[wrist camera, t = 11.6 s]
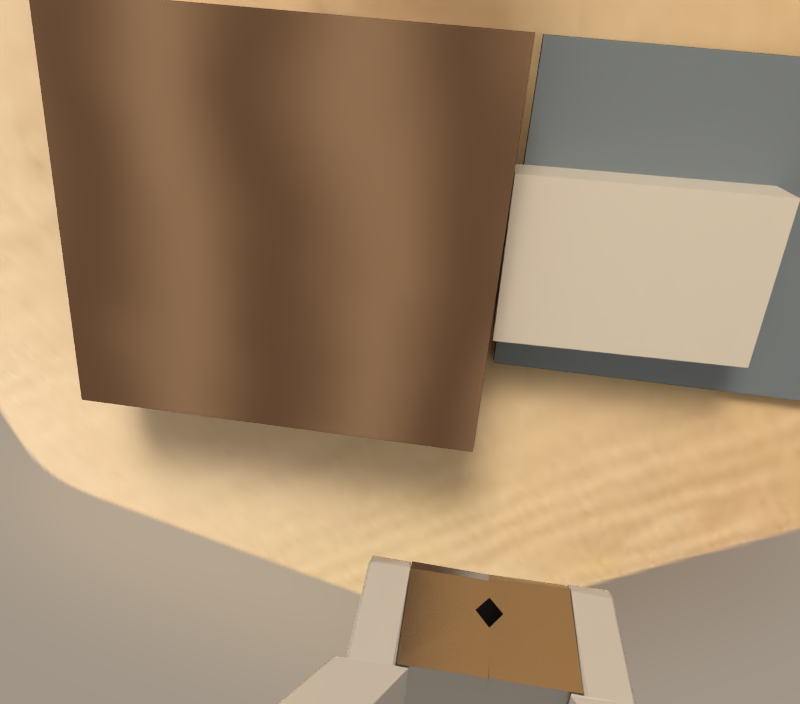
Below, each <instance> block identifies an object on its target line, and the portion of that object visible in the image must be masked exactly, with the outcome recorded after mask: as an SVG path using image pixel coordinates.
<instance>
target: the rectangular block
mask: <svg viewBox="0 0 800 704" xmlns="http://www.w3.org/2000/svg"><path fill="white" fill-rule="evenodd" d="M799 202H800V198H799V197H797V196H795V195H793V194H791V193H789V192H787V191H786V190H784V189H782V188H780V187H778V186H771V185H760V184H748V183H736V182H724V181H713V180H701V179H689V178H677V177H666V176H654V175H642V174H630V173H619V172H607V171H595V170H583V169H572V168H560V167H548V166H536V165H525V164H515V171H514V178H513V185H512V191H511V198H510V205H509V212H508V218H507V225H506V232H505V239H504V245H503V252H502V259H501V265H500V272H499V279H498V286H497V292H496V299H495V307H494V315H493V341H499V342H509V343H518V344H528V345H537V346H547V347H556V348H565V349H575V350H584V351H594V352H603V353H612V354H622V355H631V356H641V357H650V358H660V359H669V360H678V361H688V362H697V363H707V364H716V365H725V366H735V367H744V368H748V367H749V363H750V360H751V357H752V354H753V350H754V347H755V344H756V341H757V338H758V334H759V331H760V328H761V325H762V321H763V318H764V315H765V312H766V308H767V305H768V302H769V299H770V295H771V292H772V289H773V286H774V283H775V279H776V276H777V273H778V270H779V266H780V263H781V260H782V257H783V253H784V250H785V247H786V244H787V240H788V237H789V234H790V231H791V227H792V224H793V221H794V218H795V215H796V211H797V208H798V205H799Z"/></svg>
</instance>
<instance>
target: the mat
mask: <svg viewBox="0 0 800 704" xmlns="http://www.w3.org/2000/svg"><path fill="white" fill-rule="evenodd" d="M523 164H525V165H536V166H548V167H560V168H572V169H583V170H595V171H607V172H619V173H630V174H642V175H654V176H666V177H677V178H689V179H701V180H713V181H724V182H736V183H748V184H760V185H771V186H778V187H780V188H782V189H784V190H786V191H787V192H789V193H791V194H793V195H795V196H797V197H799V198H800V57H798V56H786V55H775V54H764V53H752V52H741V51H729V50H718V49H707V48H695V47H684V46H673V45H661V44H650V43H639V42H627V41H616V40H604V39H593V38H582V37H570V36H559V35H548V34H543V39H542V46H541V52H540V59H539V65H538V72H537V78H536V85H535V92H534V98H533V105H532V111H531V118H530V124H529V131H528V137H527V144H526V150H525V157H524V163H523ZM494 363H500V364H508V365H516V366H524V367H532V368H540V369H549V370H557V371H565V372H573V373H581V374H589V375H597V376H605V377H613V378H621V379H629V380H637V381H645V382H654V383H662V384H670V385H678V386H686V387H694V388H702V389H710V390H718V391H726V392H734V393H742V394H750V395H758V396H767V397H775V398H783V399H791V400H799V401H800V202H799V205H798V208H797V211H796V215H795V218H794V221H793V224H792V227H791V231H790V234H789V237H788V240H787V244H786V247H785V250H784V253H783V257H782V260H781V263H780V266H779V270H778V273H777V276H776V279H775V283H774V286H773V289H772V292H771V295H770V299H769V302H768V305H767V308H766V312H765V315H764V318H763V321H762V325H761V328H760V331H759V334H758V338H757V341H756V344H755V347H754V350H753V354H752V357H751V360H750V363H749V367H748V368H744V367H735V366H725V365H716V364H707V363H697V362H688V361H678V360H669V359H660V358H650V357H641V356H631V355H622V354H612V353H603V352H594V351H584V350H575V349H565V348H556V347H547V346H537V345H528V344H518V343H509V342H499V341H496V346H495V353H494Z"/></svg>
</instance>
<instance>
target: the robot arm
mask: <svg viewBox="0 0 800 704" xmlns="http://www.w3.org/2000/svg"><path fill="white" fill-rule="evenodd" d="M279 704H636V703H635V699H634V694H633V689H632V684H631V680H630V675H629V670H628V666H627V661H626V656H625V652H624V647H623V642H622V638H621V633H620V629H619V624H618V620H617V615H616V610H615V605H614V601H613V597H612V595H611V594H610V593H609V591H608V590H601V589H593V588H586V587H579V586H571V585H568V586H567V587H566V586H565V585H559V584H552V583H545V582H538V581H531V580H524V579H517V578H510V577H503V576H495V575H487V574H482V573H476V572H470V571H464V570H458V569H453V568H447V567H441V566H435V565H430V564H424V563H418V562H412V566H411V562H407V561H401V560H396V559H390V558H384V557H379V556H372V558H371V560H370V562H369V565H368V569H367V573H366V577H365V581H364V585H363V590H362V594H361V598H360V602H359V606H358V611H357V615H356V619H355V623H354V627H353V632H352V636H351V640H350V644H349V648H348V652H347V657H346V658H344V657H337V656H334V657H332V658H331V659H330V660H329V661H328V662H327V663H325V664H324V665H323V666H322V667H321V668H319V669H318V670H317V671H316V672H315V673H314V674H313V675H311V676H310V677H309V678H308V679H307V680H306V681H304V682H303V683H302V684H301V685H300V686H298V687H297V688H296V689H295V690H294V691H293V692H291V693H290V694H289V695H288V696H287V697H286V698H284V699H283V700H282V701H281V702H280V703H279Z"/></svg>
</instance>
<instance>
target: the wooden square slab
mask: <svg viewBox="0 0 800 704" xmlns="http://www.w3.org/2000/svg"><path fill="white" fill-rule="evenodd" d="M29 2H30V10H31V18H32V25H33V33H34V40H35V48H36V55H37V63H38V71H39V78H40V86H41V93H42V101H43V108H44V116H45V124H46V131H47V139H48V146H49V154H50V162H51V169H52V177H53V184H54V192H55V199H56V207H57V215H58V222H59V230H60V237H61V245H62V253H63V260H64V268H65V275H66V283H67V290H68V298H69V306H70V313H71V321H72V328H73V336H74V344H75V351H76V359H77V366H78V374H79V381H80V389H81V397H82V400H89V401H96V402H104V403H111V404H119V405H126V406H134V407H141V408H149V409H156V410H164V411H171V412H179V413H186V414H194V415H201V416H208V417H216V418H223V419H231V420H238V421H246V422H253V423H261V424H268V425H276V426H283V427H291V428H298V429H306V430H313V431H321V432H328V433H336V434H343V435H350V436H358V437H365V438H373V439H380V440H388V441H395V442H403V443H410V444H418V445H425V446H433V447H440V448H448V449H455V450H463V451H470V452H473V448H474V441H475V434H476V427H477V421H478V414H479V407H480V400H481V394H482V387H483V380H484V373H485V367H486V360H487V353H488V346H489V340H490V333H491V326H492V319H493V313H494V306H495V299H496V292H497V286H498V279H499V272H500V265H501V259H502V252H503V245H504V239H505V232H506V225H507V218H508V212H509V205H510V198H511V191H512V185H513V178H514V171H515V164H516V158H517V151H518V144H519V137H520V131H521V124H522V117H523V110H524V104H525V97H526V90H527V83H528V77H529V70H530V63H531V56H532V50H533V43H534V36H535V32H525V31H513V30H502V29H490V28H479V27H468V26H456V25H445V24H434V23H422V22H411V21H399V20H388V19H377V18H365V17H354V16H343V15H331V14H320V13H308V12H297V11H286V10H274V9H263V8H252V7H240V6H229V5H217V4H206V3H195V2H183V1H172V0H29Z"/></svg>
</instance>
